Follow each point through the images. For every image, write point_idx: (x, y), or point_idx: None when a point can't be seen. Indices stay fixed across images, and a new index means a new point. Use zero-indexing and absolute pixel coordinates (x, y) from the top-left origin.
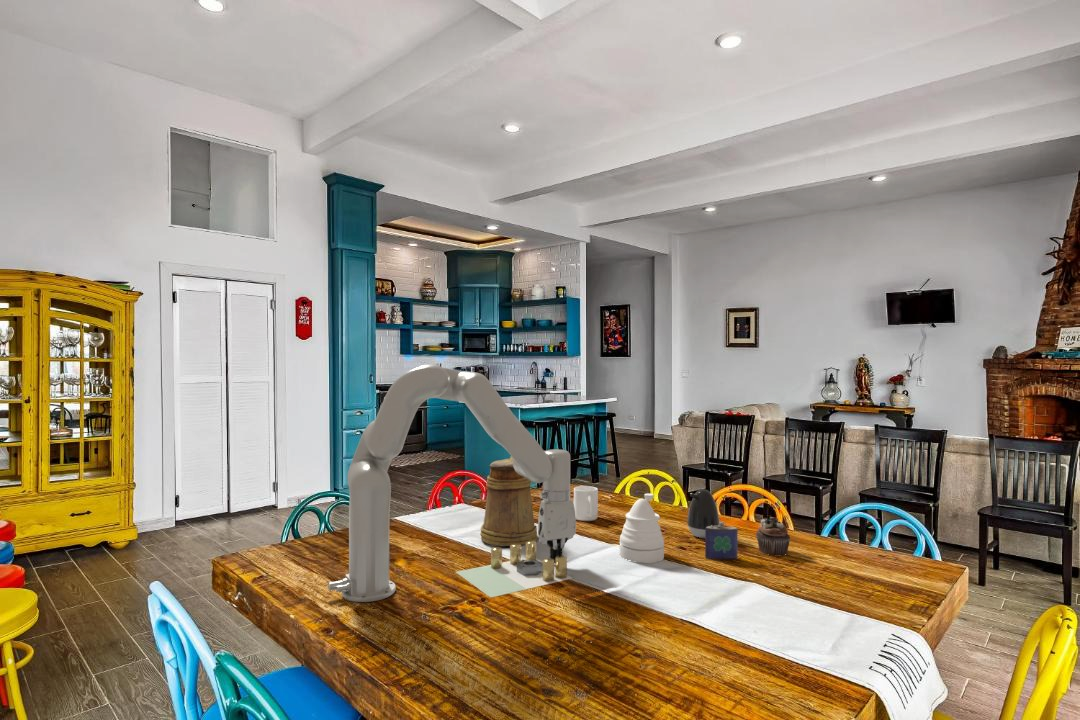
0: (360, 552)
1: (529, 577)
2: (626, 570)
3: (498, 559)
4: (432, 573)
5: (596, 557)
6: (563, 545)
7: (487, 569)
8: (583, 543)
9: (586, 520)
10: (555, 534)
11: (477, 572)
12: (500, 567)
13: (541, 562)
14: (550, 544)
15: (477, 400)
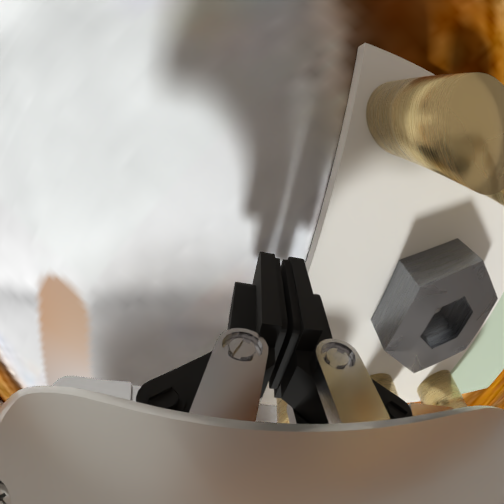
0: None
1: (484, 242)
2: (15, 29)
3: (459, 395)
4: (482, 400)
5: (13, 242)
6: (223, 350)
7: (458, 377)
8: (21, 356)
9: (2, 402)
10: (465, 470)
11: (483, 368)
12: (441, 373)
13: (414, 299)
14: (381, 395)
15: None
